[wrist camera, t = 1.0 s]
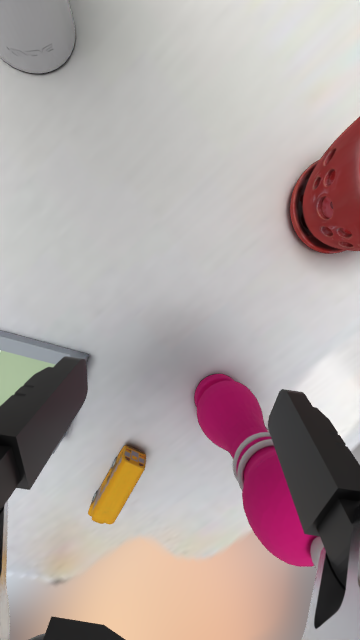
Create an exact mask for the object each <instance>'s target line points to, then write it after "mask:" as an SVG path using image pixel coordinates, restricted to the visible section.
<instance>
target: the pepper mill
mask: <svg viewBox="0 0 360 640" xmlns="http://www.w3.org/2000/svg"><path fill="white" fill-rule="evenodd" d="M194 400H195V405H196V407H197V418H198V422H199V425H200V427H201V428H202V430H203V432H204V433H205V435H206V436H207V437H208V438H209V439H210V440H211V441H212V442H213V443H214V444H216V445H218V446H219V447H221V448H223V449H225V450H226V451H228V452H229V453H230V454H231V456H232V457H233V471H234V475H235V477H236V479H237V481H238V482H239V486H240V488H241V489H242V491H243V493H242V497H243V506H244V510H245V513H246V516H247V519H248V522H249V524H250V526H251V528H252V530H253V531H254V533H255V535H256V536H257V537H258V539H259V540H260V541H261V543H262V544H263V545H264V546H265V547H266V549H267V550H269V551H270V552H271V553H272V554H273V555H274V556H276V557H277V558H279V559H280V560H282V561H284V562H286V563H288V564H291V565H295V566H315V568H316V570H317V568H318V563H319V558H320V553H321V550H322V549H323V547H324V545H323V543H322V540H321V538H320V536H313V535H307V534H304V531H303V528H302V525H301V522H300V519H299V516H298V513H297V511H296V508H295V505H294V502H293V499H292V496H291V493H290V490H289V488H288V485H287V482H286V479H285V476H284V473H283V470H282V467H281V464H280V462H279V459H278V456H277V453H276V450H275V447H274V444H273V441H272V439H271V436H270V433H269V432H268V431H267V429H266V428H265V425H264V421H263V415H262V411H261V408H260V405H259V403H258V401H257V399H256V397H255V396H254V395H253V393H252V392H251V391H250V390H249V389H248V388H247V387H246V386H244V385H243V384H241V383H239V382H236V381H234V380H233V379H232V378H230V377H229V376H227V375H224V374H213V375H210V376H208V377H206V378H205V379H203V380H202V381H201V382H200V383H199V385H198V386H197V388H196V391H195V396H194Z"/></svg>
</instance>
